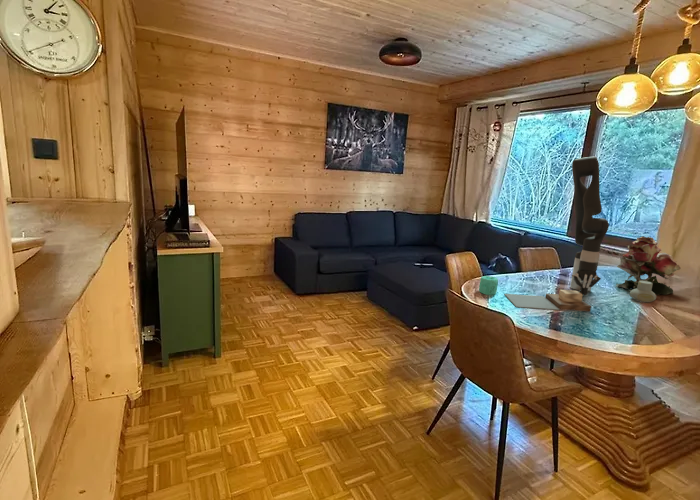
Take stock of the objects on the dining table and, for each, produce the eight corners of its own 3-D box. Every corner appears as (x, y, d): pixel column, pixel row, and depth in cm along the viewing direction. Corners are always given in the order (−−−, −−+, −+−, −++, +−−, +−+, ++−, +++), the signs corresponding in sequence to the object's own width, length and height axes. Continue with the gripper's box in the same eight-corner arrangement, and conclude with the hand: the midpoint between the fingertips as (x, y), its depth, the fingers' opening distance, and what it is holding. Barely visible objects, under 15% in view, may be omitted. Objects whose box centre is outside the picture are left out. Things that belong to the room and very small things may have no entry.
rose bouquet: (680, 294, 218) (693, 241, 212) (642, 297, 209) (653, 241, 203) (636, 280, 242) (645, 232, 235) (599, 282, 233) (608, 233, 227)
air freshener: (631, 301, 201) (635, 282, 199) (627, 296, 208) (630, 278, 206) (657, 304, 197) (661, 285, 195) (651, 300, 205) (655, 281, 203)
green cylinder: (478, 293, 203) (480, 278, 201) (481, 289, 210) (482, 275, 208) (494, 296, 199) (496, 281, 198) (496, 292, 206) (498, 277, 205)
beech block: (575, 298, 193) (576, 290, 193) (581, 302, 188) (582, 294, 187) (558, 297, 194) (559, 289, 193) (563, 301, 188) (565, 293, 187)
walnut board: (573, 300, 199) (574, 295, 198) (590, 311, 183) (591, 306, 183) (545, 298, 200) (546, 293, 199) (559, 309, 184) (559, 304, 184)
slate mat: (543, 297, 201) (543, 296, 201) (559, 310, 183) (560, 309, 183) (504, 294, 203) (504, 293, 202) (516, 307, 184) (516, 306, 184)
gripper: (599, 258, 189) (593, 293, 193) (571, 257, 190) (565, 291, 194) (608, 262, 182) (601, 298, 185) (578, 260, 183) (572, 296, 186)
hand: (582, 294), depth 190 cm, fingers closed
